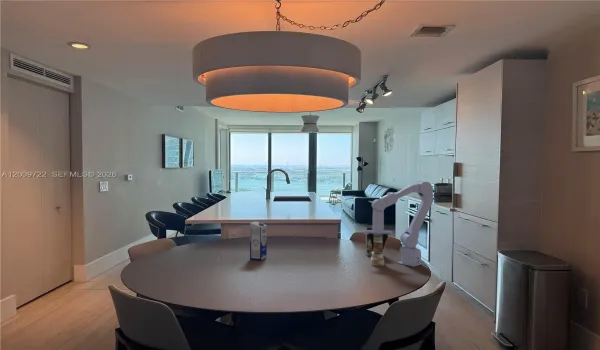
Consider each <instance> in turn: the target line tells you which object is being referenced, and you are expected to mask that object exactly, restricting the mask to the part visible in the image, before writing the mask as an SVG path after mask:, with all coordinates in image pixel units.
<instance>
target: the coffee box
mask: <svg viewBox="0 0 600 350" xmlns="http://www.w3.org/2000/svg"><path fill="white" fill-rule="evenodd" d="M365 226H366V225H365ZM365 230H373V225H371V226H370V225H369V226H368V225H367V226H366V227H365ZM380 234H382V233H380ZM373 236H374V239H373V241H382V235H376V234H373ZM372 252H374V251H373V249H372V244H371V240H370V238H369V235H368V234H365V256H367V257H368V256H369V257H372Z"/></svg>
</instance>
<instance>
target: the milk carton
mask: <svg viewBox="0 0 600 350" xmlns="http://www.w3.org/2000/svg"><path fill="white" fill-rule="evenodd" d="M267 228H268V225H267V224H265V223H264V222H262V221H252V222H250V223H249V261H258V262H259V261H260V262H262V261H264V260H265V259H267V258H268V257H267V255H268V254H267V252H268V251H267V246H268V245H267V244H268V242H267V240H268V238H267V237H268V235H267V233H268V232H267V230H268V229H267Z"/></svg>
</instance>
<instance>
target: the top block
mask: <svg viewBox="0 0 600 350" xmlns="http://www.w3.org/2000/svg"><path fill="white" fill-rule="evenodd" d="M383 252H384V251H383ZM383 252H372V256H371V257H372V260H383V258H384V253H383Z"/></svg>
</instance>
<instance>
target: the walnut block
mask: <svg viewBox="0 0 600 350" xmlns="http://www.w3.org/2000/svg"><path fill="white" fill-rule="evenodd" d="M373 244H374V249H373V251H374V252H384V249H383V242H382V241H373Z"/></svg>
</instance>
